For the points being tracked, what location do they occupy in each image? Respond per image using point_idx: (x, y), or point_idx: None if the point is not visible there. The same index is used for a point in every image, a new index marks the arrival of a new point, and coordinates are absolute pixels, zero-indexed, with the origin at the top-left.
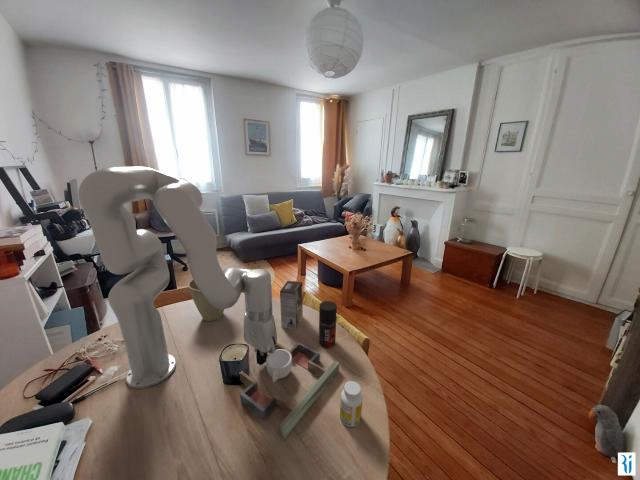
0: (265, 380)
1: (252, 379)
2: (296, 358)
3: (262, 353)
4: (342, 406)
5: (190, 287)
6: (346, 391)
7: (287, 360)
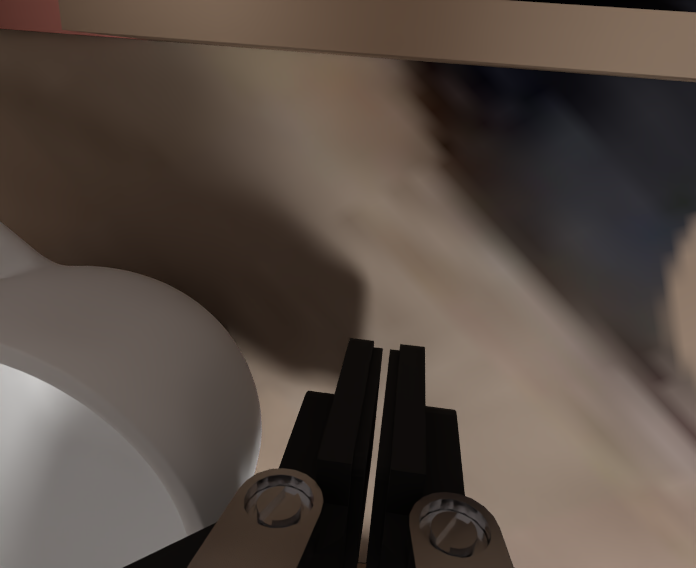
0: (196, 211)
1: (169, 20)
2: None
3: (223, 522)
4: None
5: None
6: None
7: (88, 527)
